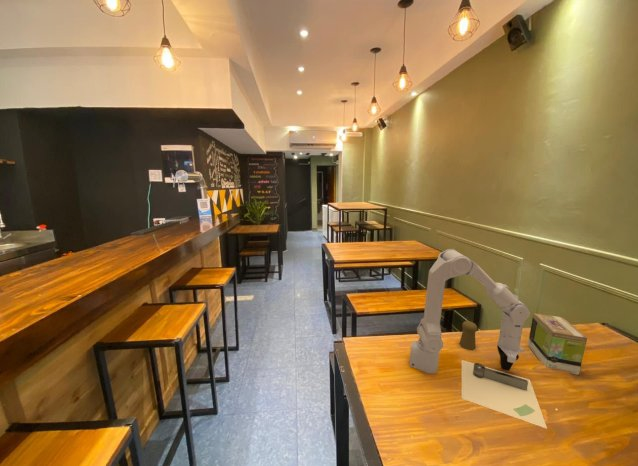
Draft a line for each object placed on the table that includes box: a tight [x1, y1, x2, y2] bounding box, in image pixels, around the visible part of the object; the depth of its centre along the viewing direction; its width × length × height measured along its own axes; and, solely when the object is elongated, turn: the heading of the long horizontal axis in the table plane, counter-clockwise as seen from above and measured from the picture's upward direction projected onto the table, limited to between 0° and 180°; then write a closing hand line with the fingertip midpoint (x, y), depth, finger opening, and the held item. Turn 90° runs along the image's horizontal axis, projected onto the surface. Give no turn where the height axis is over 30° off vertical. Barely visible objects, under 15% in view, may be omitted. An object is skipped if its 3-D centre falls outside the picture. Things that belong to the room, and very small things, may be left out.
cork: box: [459, 320, 478, 351], centre depth 102 cm, size 6×6×11 cm
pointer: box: [473, 362, 528, 390], centre depth 84 cm, size 15×3×3 cm, turn 61°
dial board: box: [461, 359, 548, 430], centre depth 81 cm, size 20×20×1 cm
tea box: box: [527, 312, 588, 376], centre depth 95 cm, size 15×10×15 cm
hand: (504, 368), depth 88 cm, fingers closed
